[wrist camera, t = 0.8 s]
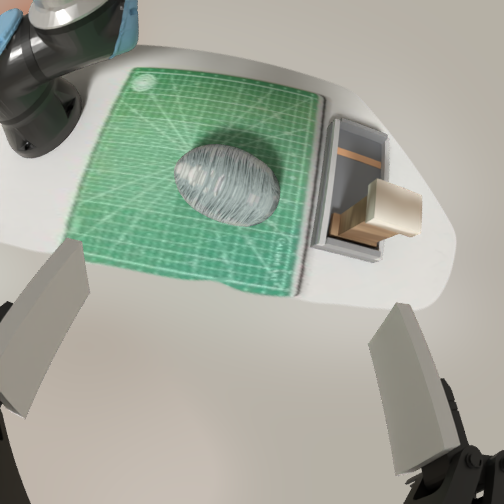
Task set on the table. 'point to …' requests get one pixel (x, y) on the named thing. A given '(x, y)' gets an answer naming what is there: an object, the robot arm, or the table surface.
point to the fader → (379, 215)
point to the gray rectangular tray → (349, 182)
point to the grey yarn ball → (227, 184)
